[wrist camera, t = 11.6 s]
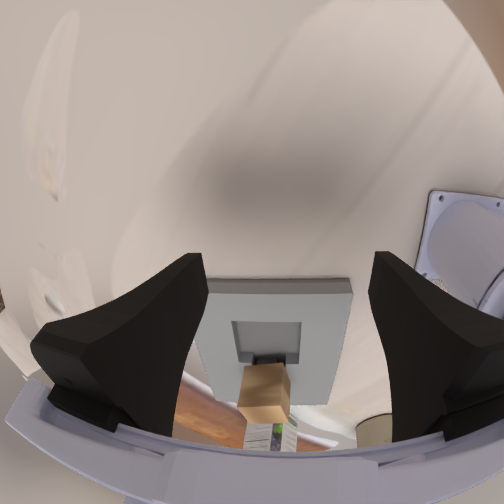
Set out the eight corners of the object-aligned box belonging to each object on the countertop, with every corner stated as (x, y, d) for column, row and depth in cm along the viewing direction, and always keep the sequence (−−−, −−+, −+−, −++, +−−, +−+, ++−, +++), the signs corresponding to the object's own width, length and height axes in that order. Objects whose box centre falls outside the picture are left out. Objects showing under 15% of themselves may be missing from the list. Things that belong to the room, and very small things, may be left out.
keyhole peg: (283, 351, 26) (280, 405, 21) (291, 372, 28) (288, 422, 23) (246, 354, 27) (237, 407, 22) (256, 375, 29) (249, 424, 24)
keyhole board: (349, 278, 22) (353, 293, 20) (326, 391, 31) (327, 404, 29) (187, 278, 24) (179, 292, 22) (219, 388, 33) (216, 400, 31)
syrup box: (299, 419, 36) (294, 504, 23) (267, 425, 38) (256, 504, 25) (280, 405, 34) (271, 500, 21) (246, 412, 36) (231, 498, 23)
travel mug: (376, 433, 38) (381, 516, 23) (346, 429, 37) (348, 521, 21) (408, 415, 34) (421, 505, 19) (380, 410, 33) (390, 513, 18)
